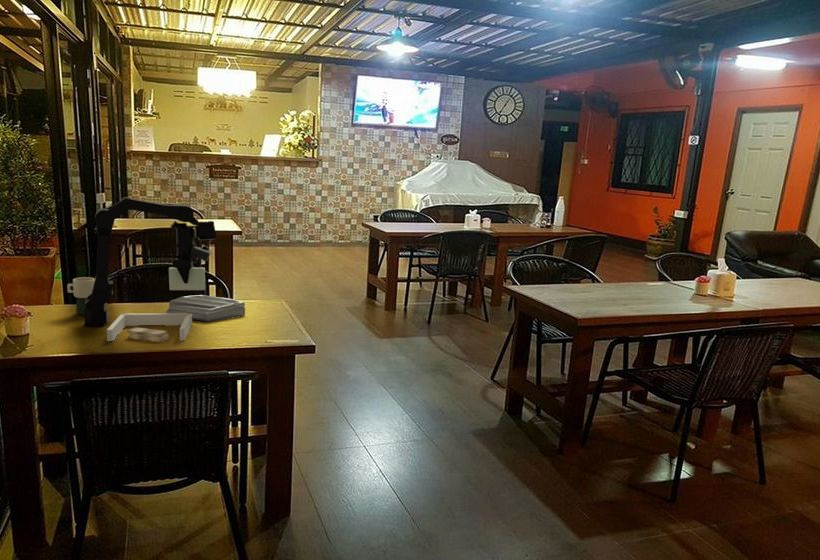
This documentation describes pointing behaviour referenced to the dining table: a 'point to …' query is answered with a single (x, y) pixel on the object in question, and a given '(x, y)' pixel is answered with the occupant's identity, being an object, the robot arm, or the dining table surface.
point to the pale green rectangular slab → (194, 281)
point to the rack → (151, 322)
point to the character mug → (81, 291)
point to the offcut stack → (148, 334)
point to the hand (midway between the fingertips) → (186, 282)
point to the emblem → (207, 307)
